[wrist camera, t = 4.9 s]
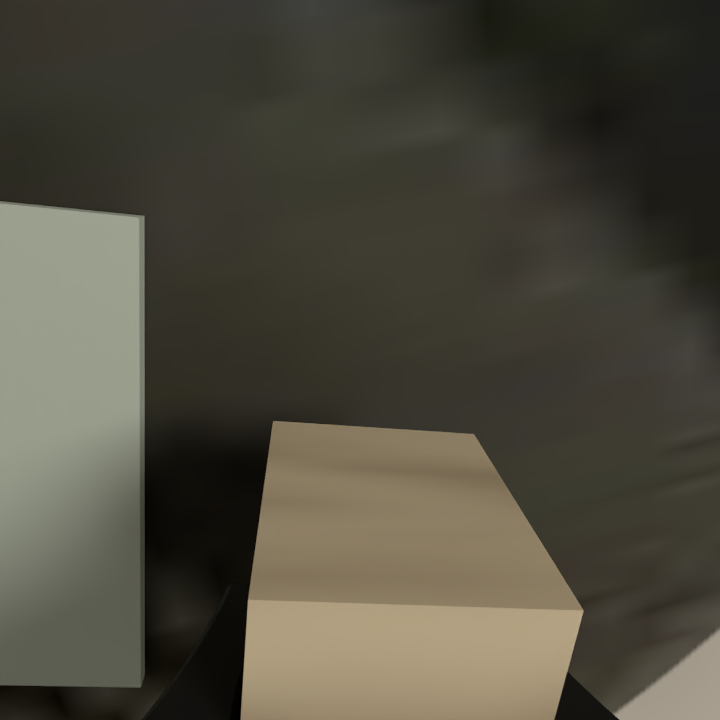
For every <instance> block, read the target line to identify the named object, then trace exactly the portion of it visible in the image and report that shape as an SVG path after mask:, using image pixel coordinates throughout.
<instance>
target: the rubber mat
mask: <svg viewBox="0 0 720 720" xmlns="http://www.w3.org/2000/svg"><path fill="white" fill-rule="evenodd" d="M144 676H145V347H144V216H140V215H130V214H120V213H111V212H101V211H91V210H81V209H71V208H61V207H52V206H42V205H32V204H22V203H12V202H3V201H0V685H20V686H79V687H138V688H141V685H142V682H143V679H144Z"/></svg>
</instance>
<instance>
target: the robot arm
mask: <svg viewBox="0 0 720 720" xmlns="http://www.w3.org/2000/svg"><path fill="white" fill-rule="evenodd" d="M249 589H250V584H231V585H229V586H228V587H227V588H226V590H225V592H224V595H223V597H222V599H221V602H220V604H219V606H218V608H217V610H216V612H215V614H214V616H213V617H212V619H211V621H210V623H209V624H208V626H207V628H206V630H205V631H204V633H203V635H202V636H201V638H200V639H199V641H198V643H197V644H196V646H195V647H194V649H193V651H192V652H191V654H190V655H189V657H188V658H187V660H186V661H185V663H184V664H183V666H182V667H181V669H180V670H179V671H178V673H177V674H176V676H175V677H174V678H173V680H172V681H171V682H170V684H169V685H168V687H167V688H166V689H165V691H164V692H163V694H162V695H161V696H160V698H159V699H158V700H157V701H156V703H155V704H154V705H153V706H152V708H151V709H150V710H149V711H148V713H147V714H146V715H145V716H144V718H143V719H142V720H241V704H242V688H243V673H244V657H245V641H246V625H247V609H248V597H249ZM554 720H619V719H618V718H617V717H615V716H614V715H613V714H612V713H611V712H610V711H609V710H607V709H606V708H605V707H604V706H603V705H602V704H601V703H600V702H599V701H598V700H597V699H595V698H594V697H593V696H592V695H591V694H590V693H589V692H588V691H587V690H586V689H585V688H584V687H583V686H582V685H581V684H580V683H579V682H577V681H576V680H575V679H574V678H573V677H572V676H571V675H570V674H569V673H568V672H567V674H566V678H565V682H564V685H563V689H562V693H561V697H560V700H559V704H558V708H557V712H556V715H555V719H554Z"/></svg>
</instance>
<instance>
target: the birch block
mask: <svg viewBox="0 0 720 720" xmlns="http://www.w3.org/2000/svg"><path fill="white" fill-rule="evenodd" d="M582 614H583V609H582V607H581V606H580V604H579V603H578V601H577V599H576V598H575V596H574V594H573V593H572V591H571V590H570V588H569V586H568V585H567V583H566V582H565V580H564V578H563V577H562V575H561V574H560V572H559V570H558V569H557V567H556V566H555V564H554V562H553V561H552V559H551V558H550V556H549V554H548V553H547V551H546V549H545V548H544V546H543V545H542V543H541V541H540V540H539V538H538V537H537V535H536V533H535V532H534V530H533V529H532V527H531V525H530V524H529V522H528V521H527V519H526V517H525V516H524V514H523V512H522V511H521V509H520V508H519V506H518V504H517V503H516V501H515V500H514V498H513V496H512V495H511V493H510V492H509V490H508V488H507V487H506V485H505V484H504V482H503V480H502V479H501V477H500V476H499V474H498V472H497V471H496V469H495V467H494V466H493V464H492V463H491V461H490V459H489V458H488V456H487V455H486V453H485V451H484V450H483V448H482V447H481V445H480V443H479V442H478V440H477V439H476V437H475V435H474V434H463V433H448V432H433V431H418V430H403V429H388V428H372V427H357V426H342V425H327V424H312V423H297V422H282V421H273V425H272V432H271V440H270V447H269V454H268V461H267V468H266V475H265V482H264V490H263V497H262V504H261V511H260V518H259V525H258V532H257V539H256V547H255V554H254V561H253V568H252V575H251V582H250V589H249V597H248V609H247V625H246V641H245V657H244V673H243V688H242V704H241V720H554V719H555V715H556V712H557V708H558V704H559V700H560V697H561V693H562V689H563V685H564V682H565V678H566V674H567V670H568V667H569V663H570V659H571V656H572V652H573V648H574V644H575V641H576V637H577V633H578V629H579V626H580V622H581V618H582Z"/></svg>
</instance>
